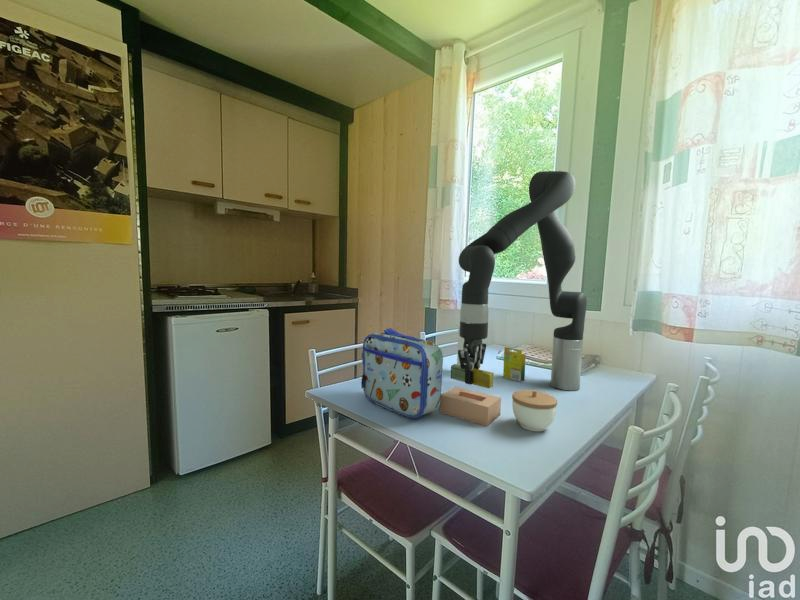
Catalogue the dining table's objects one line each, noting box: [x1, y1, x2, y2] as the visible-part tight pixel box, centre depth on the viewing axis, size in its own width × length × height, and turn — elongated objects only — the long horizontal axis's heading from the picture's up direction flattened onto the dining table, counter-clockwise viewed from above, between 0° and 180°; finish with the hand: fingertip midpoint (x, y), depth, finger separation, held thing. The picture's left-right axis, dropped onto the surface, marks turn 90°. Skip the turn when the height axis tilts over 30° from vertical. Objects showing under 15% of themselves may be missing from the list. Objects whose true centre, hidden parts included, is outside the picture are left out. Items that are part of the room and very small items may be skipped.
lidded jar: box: [511, 389, 558, 432], centre depth 90 cm, size 11×11×9 cm
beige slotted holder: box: [439, 386, 502, 427], centre depth 97 cm, size 9×14×5 cm, turn 54°
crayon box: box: [502, 346, 527, 383], centre depth 130 cm, size 7×3×12 cm, turn 40°
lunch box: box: [360, 327, 444, 419], centre depth 100 cm, size 28×10×22 cm, turn 44°
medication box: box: [450, 363, 494, 389], centre depth 97 cm, size 12×3×4 cm, turn 50°
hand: (471, 381), depth 97 cm, fingers closed on medication box, 3 cm apart
